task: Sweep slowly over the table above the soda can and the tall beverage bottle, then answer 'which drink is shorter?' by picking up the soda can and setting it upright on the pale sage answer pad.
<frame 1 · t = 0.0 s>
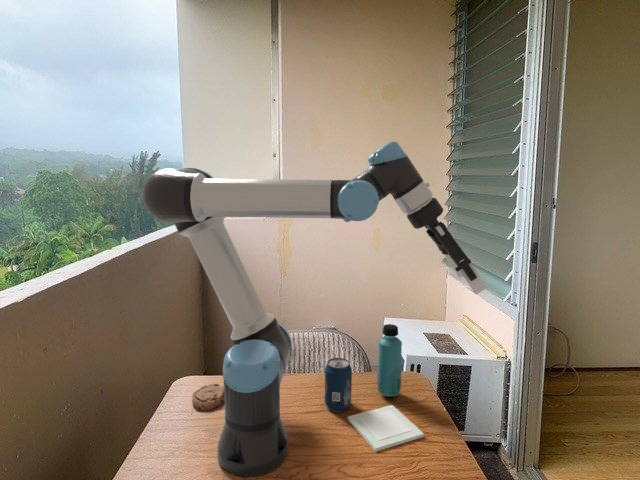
hand: (472, 282, 93), 36 cm above the table, tool tilted 35°, fingers open, 13 cm apart
cookie: (210, 401, 111), on the table
answer pad: (384, 427, 99), on the table
soda can: (337, 406, 108), on the table
beverage bottle: (388, 396, 113), on the table
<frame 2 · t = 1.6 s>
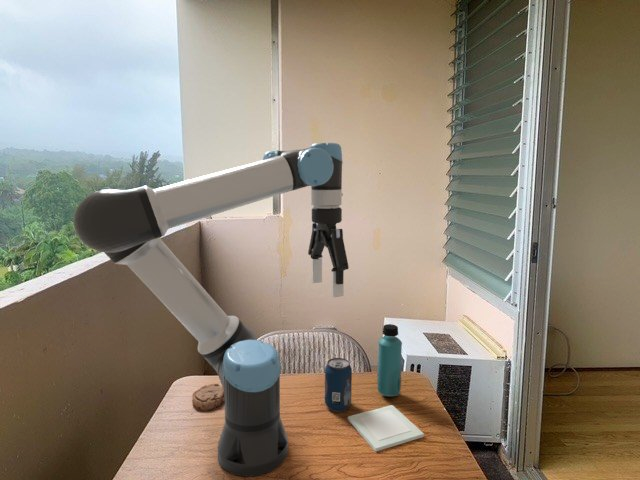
hand: (326, 289, 106), 31 cm above the table, tool pointing down, fingers open, 13 cm apart
nothing on the table moved.
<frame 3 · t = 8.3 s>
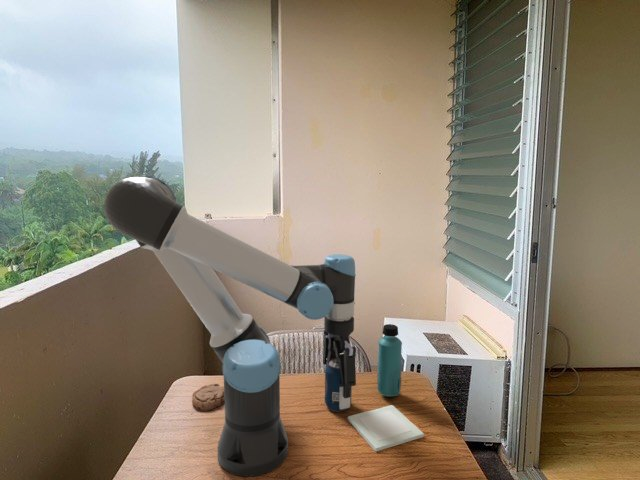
hand: (337, 400, 108), 2 cm above the table, tool pointing down, fingers closed on soda can, 7 cm apart
soda can: (337, 406, 108), on the table, touching gripper
everything else where it was.
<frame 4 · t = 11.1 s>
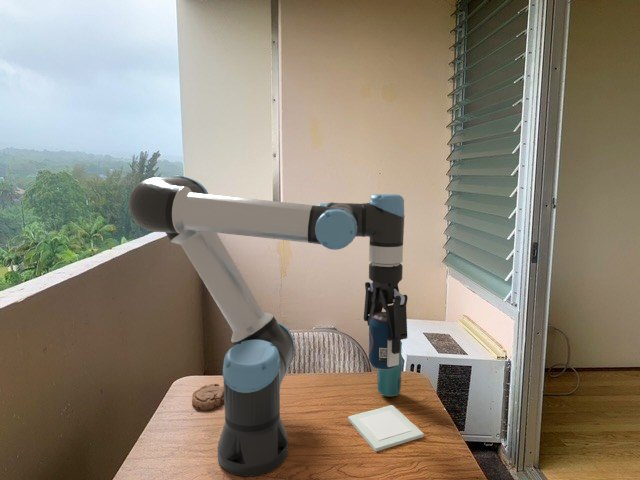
hand: (383, 358, 97), 17 cm above the table, tool pointing down, fingers closed on soda can, 7 cm apart
soda can: (383, 365, 97), point 15 cm above the table, touching gripper
everything else where it was.
when the fingers open (4 cm above the table, at t = 14.2 s): soda can stays where it is, resting on answer pad.
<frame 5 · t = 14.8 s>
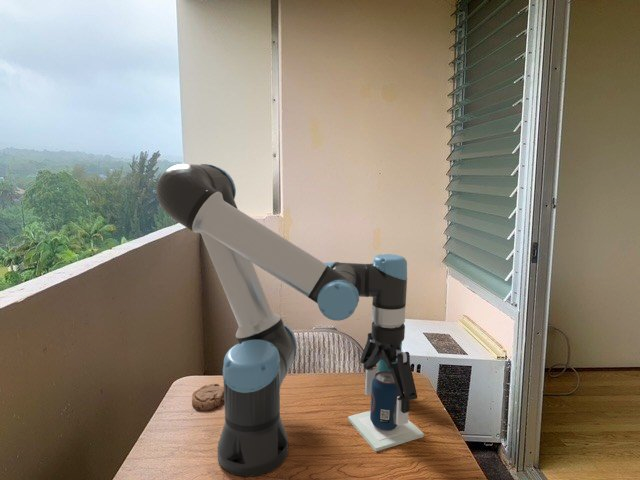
hand: (385, 407, 98), 5 cm above the table, tool pointing down, fingers open, 13 cm apart
soda can: (384, 424, 99), point 1 cm above the table, touching answer pad
everything else where it was.
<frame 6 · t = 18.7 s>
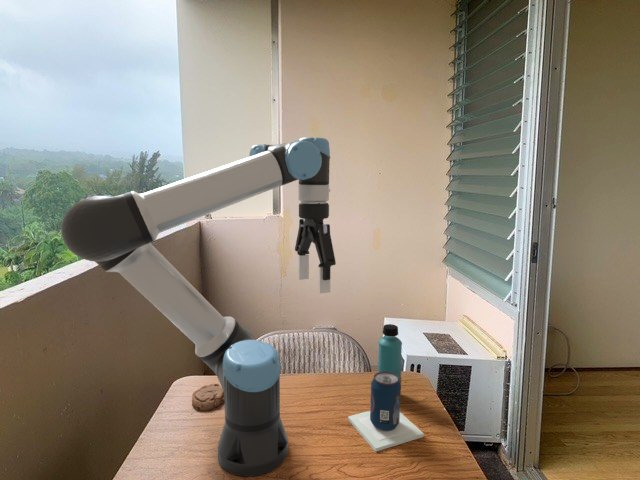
hand: (313, 285, 105), 32 cm above the table, tool pointing down, fingers open, 13 cm apart
nothing on the table moved.
at the end: soda can inside the target area on the answer pad (0.1 cm from its centre), point 0.7 cm above the answer pad's base; soda can tilted 0°; beverage bottle moved 0.2 cm from its start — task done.
